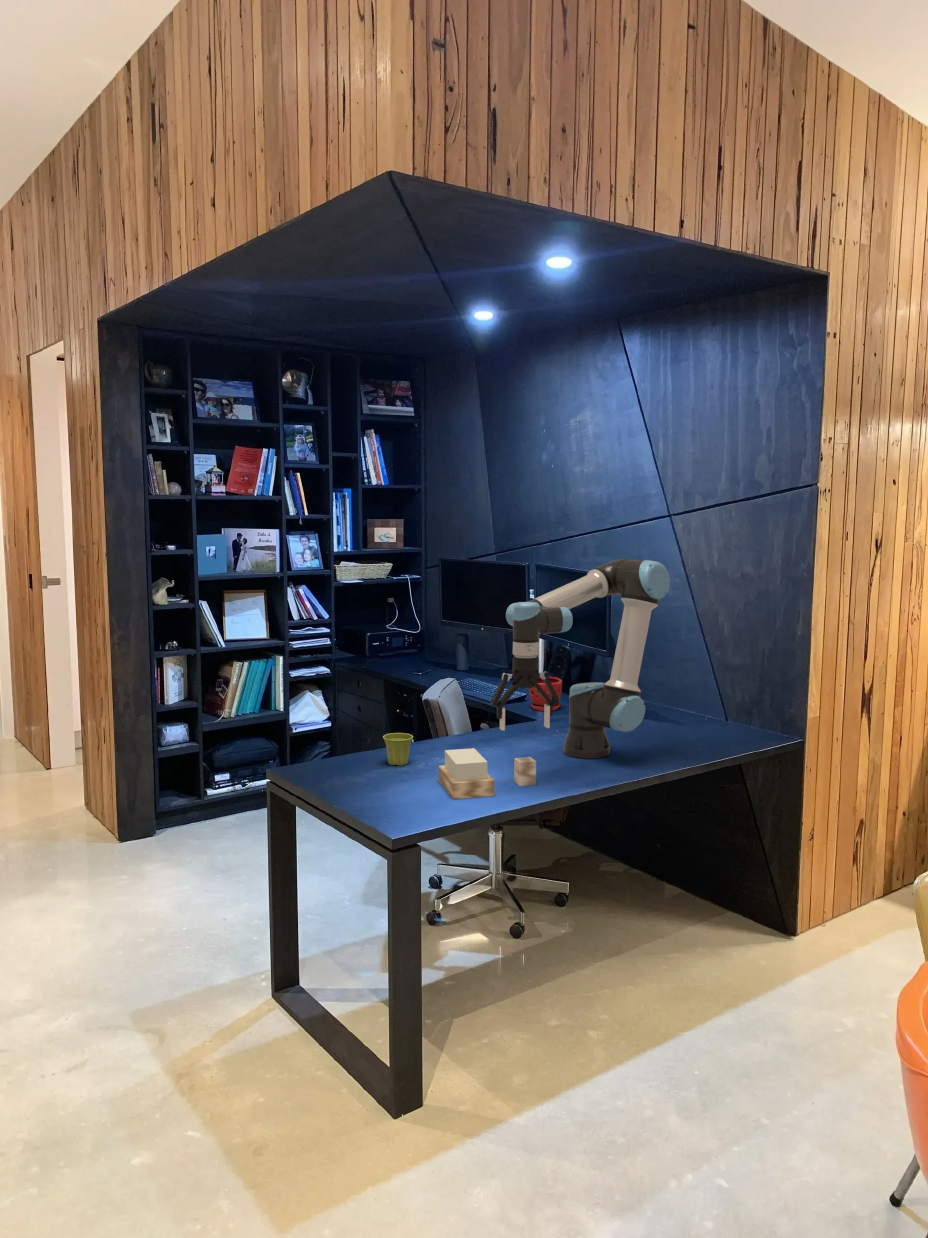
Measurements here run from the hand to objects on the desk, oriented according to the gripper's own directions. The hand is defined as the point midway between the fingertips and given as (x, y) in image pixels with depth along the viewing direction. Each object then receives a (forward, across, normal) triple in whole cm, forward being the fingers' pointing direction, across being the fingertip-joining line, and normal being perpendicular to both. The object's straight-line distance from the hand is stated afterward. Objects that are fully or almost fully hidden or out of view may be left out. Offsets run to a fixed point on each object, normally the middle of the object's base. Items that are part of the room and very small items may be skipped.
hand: (524, 728), depth 265 cm
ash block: (+16, 0, 0) cm, 16 cm away
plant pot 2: (+16, +39, +91) cm, 101 cm away
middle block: (+12, -18, 0) cm, 21 cm away
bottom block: (+17, -18, 0) cm, 24 cm away
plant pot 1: (+17, -32, +30) cm, 47 cm away
